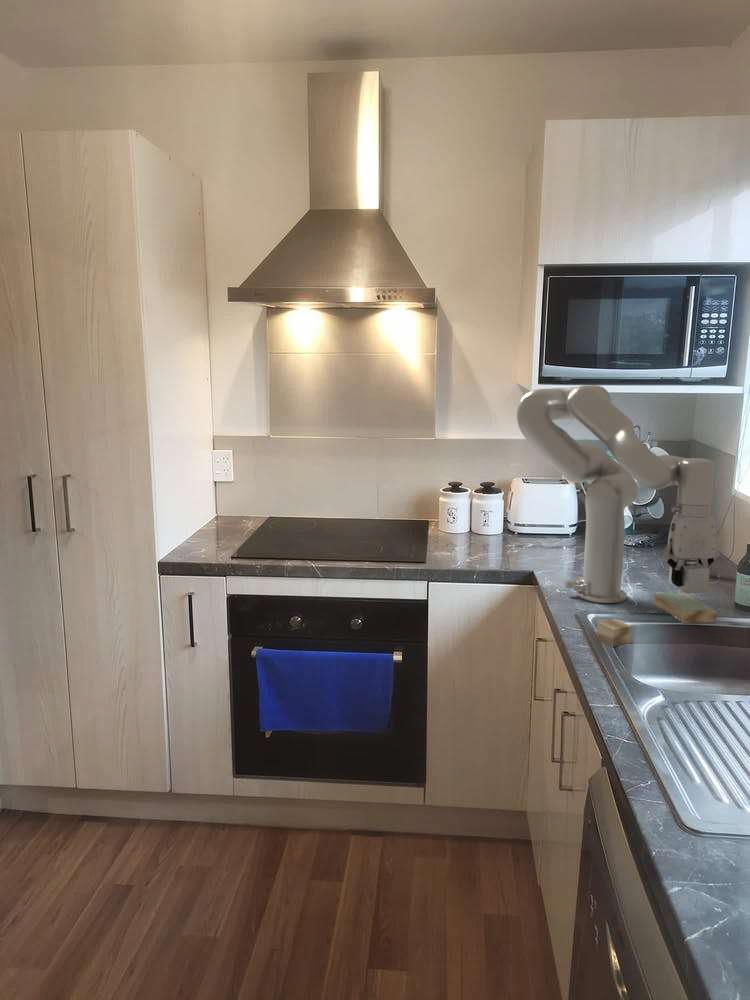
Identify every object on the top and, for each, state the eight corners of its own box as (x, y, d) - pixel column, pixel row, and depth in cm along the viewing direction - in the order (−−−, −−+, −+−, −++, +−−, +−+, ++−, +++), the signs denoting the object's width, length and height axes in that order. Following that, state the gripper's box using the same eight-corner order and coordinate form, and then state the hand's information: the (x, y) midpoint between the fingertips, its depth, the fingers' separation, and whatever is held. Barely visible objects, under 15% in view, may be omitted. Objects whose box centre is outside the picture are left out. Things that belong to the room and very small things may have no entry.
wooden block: (683, 623, 167) (684, 611, 166) (654, 603, 180) (654, 592, 180) (715, 622, 167) (716, 610, 167) (684, 602, 181) (685, 591, 181)
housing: (668, 582, 177) (670, 555, 175) (687, 581, 177) (690, 554, 176) (687, 593, 168) (689, 564, 167) (707, 592, 168) (710, 564, 167)
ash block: (612, 647, 152) (613, 629, 152) (596, 639, 157) (597, 621, 156) (630, 643, 154) (631, 626, 154) (614, 636, 159) (615, 618, 158)
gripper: (667, 514, 165) (661, 590, 168) (736, 512, 166) (730, 588, 170) (651, 508, 172) (646, 581, 175) (718, 506, 174) (712, 579, 177)
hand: (687, 583), depth 172 cm, fingers closed on housing, 5 cm apart
